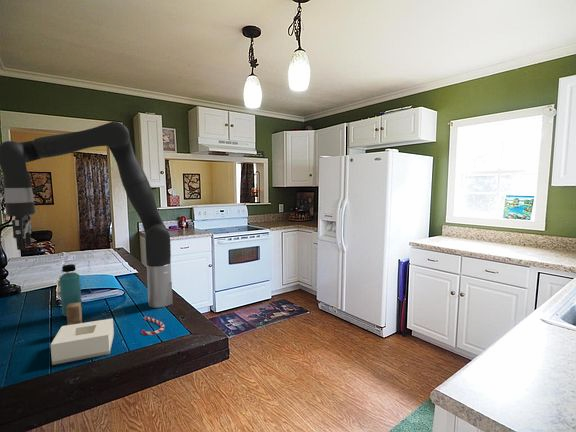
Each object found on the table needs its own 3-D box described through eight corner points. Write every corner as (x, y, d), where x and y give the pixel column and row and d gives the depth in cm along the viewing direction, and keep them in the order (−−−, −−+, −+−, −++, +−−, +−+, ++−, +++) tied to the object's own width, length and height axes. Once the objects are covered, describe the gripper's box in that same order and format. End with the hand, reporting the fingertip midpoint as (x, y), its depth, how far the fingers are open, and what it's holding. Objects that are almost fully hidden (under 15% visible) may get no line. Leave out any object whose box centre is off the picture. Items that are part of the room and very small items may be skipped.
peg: (82, 329, 106) (80, 302, 105) (80, 334, 103) (78, 305, 102) (70, 331, 105) (68, 303, 104) (68, 336, 102) (66, 307, 101)
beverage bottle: (72, 320, 113) (68, 268, 111) (57, 319, 115) (53, 266, 112) (87, 313, 120) (83, 263, 117) (72, 311, 121) (69, 262, 119)
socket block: (113, 335, 103) (112, 318, 102) (109, 353, 92) (108, 334, 91) (63, 344, 97) (61, 326, 96) (52, 364, 86) (50, 344, 85)
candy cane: (154, 313, 118) (168, 327, 107) (154, 317, 118) (168, 331, 107) (132, 319, 113) (145, 335, 102) (132, 323, 113) (145, 338, 102)
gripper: (29, 201, 102) (34, 250, 103) (37, 199, 114) (41, 242, 116) (-1, 202, 98) (4, 252, 100) (10, 200, 110) (15, 244, 112)
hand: (24, 247), depth 108 cm, fingers open, 8 cm apart
